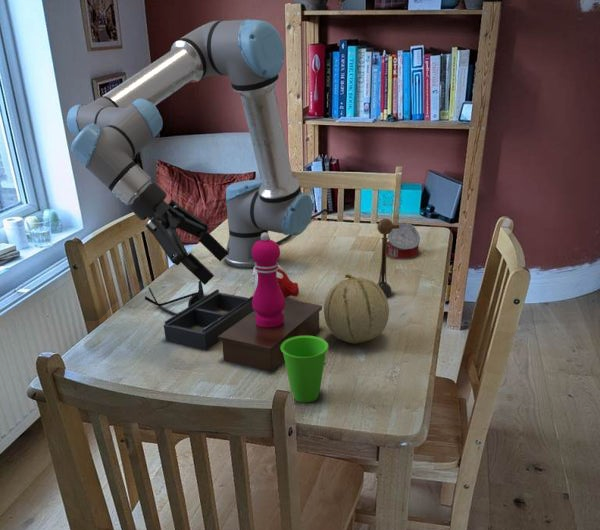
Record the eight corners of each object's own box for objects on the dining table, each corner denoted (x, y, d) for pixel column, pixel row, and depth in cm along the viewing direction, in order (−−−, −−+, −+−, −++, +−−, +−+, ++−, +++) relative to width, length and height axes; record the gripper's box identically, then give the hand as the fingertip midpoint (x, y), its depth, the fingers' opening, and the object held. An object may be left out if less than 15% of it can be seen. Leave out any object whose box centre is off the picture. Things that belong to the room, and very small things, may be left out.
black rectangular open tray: (218, 306, 164) (217, 288, 162) (256, 314, 160) (255, 295, 157) (165, 340, 148) (162, 321, 145) (206, 350, 143) (204, 330, 141)
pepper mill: (282, 330, 137) (277, 238, 127) (249, 327, 139) (242, 237, 128) (289, 316, 143) (285, 228, 133) (258, 314, 145) (252, 227, 134)
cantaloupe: (370, 360, 137) (372, 295, 129) (311, 345, 144) (310, 282, 136) (398, 334, 148) (402, 272, 140) (343, 321, 155) (343, 261, 147)
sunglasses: (155, 295, 172) (152, 277, 169) (208, 294, 171) (206, 277, 169) (139, 321, 158) (135, 302, 155) (196, 321, 157) (194, 302, 154)
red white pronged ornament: (254, 286, 174) (306, 298, 171) (237, 302, 165) (292, 315, 161) (256, 255, 169) (309, 267, 166) (239, 269, 160) (295, 282, 156)
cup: (281, 385, 129) (278, 336, 123) (325, 382, 129) (325, 334, 124) (284, 409, 121) (281, 358, 115) (331, 406, 122) (331, 355, 116)
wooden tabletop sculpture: (394, 290, 170) (398, 215, 160) (396, 297, 166) (400, 221, 156) (372, 291, 170) (374, 216, 160) (373, 298, 166) (376, 221, 156)
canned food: (414, 264, 200) (432, 238, 194) (401, 271, 193) (419, 244, 186) (387, 243, 203) (404, 216, 197) (373, 248, 195) (390, 221, 189)
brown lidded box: (274, 319, 157) (273, 296, 153) (322, 328, 151) (322, 305, 148) (220, 361, 139) (217, 336, 135) (272, 373, 133) (270, 347, 130)
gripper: (149, 190, 142) (219, 259, 148) (107, 225, 121) (190, 302, 128) (170, 167, 138) (240, 237, 145) (130, 198, 118) (214, 279, 124)
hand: (217, 268), depth 136 cm, fingers open, 13 cm apart
